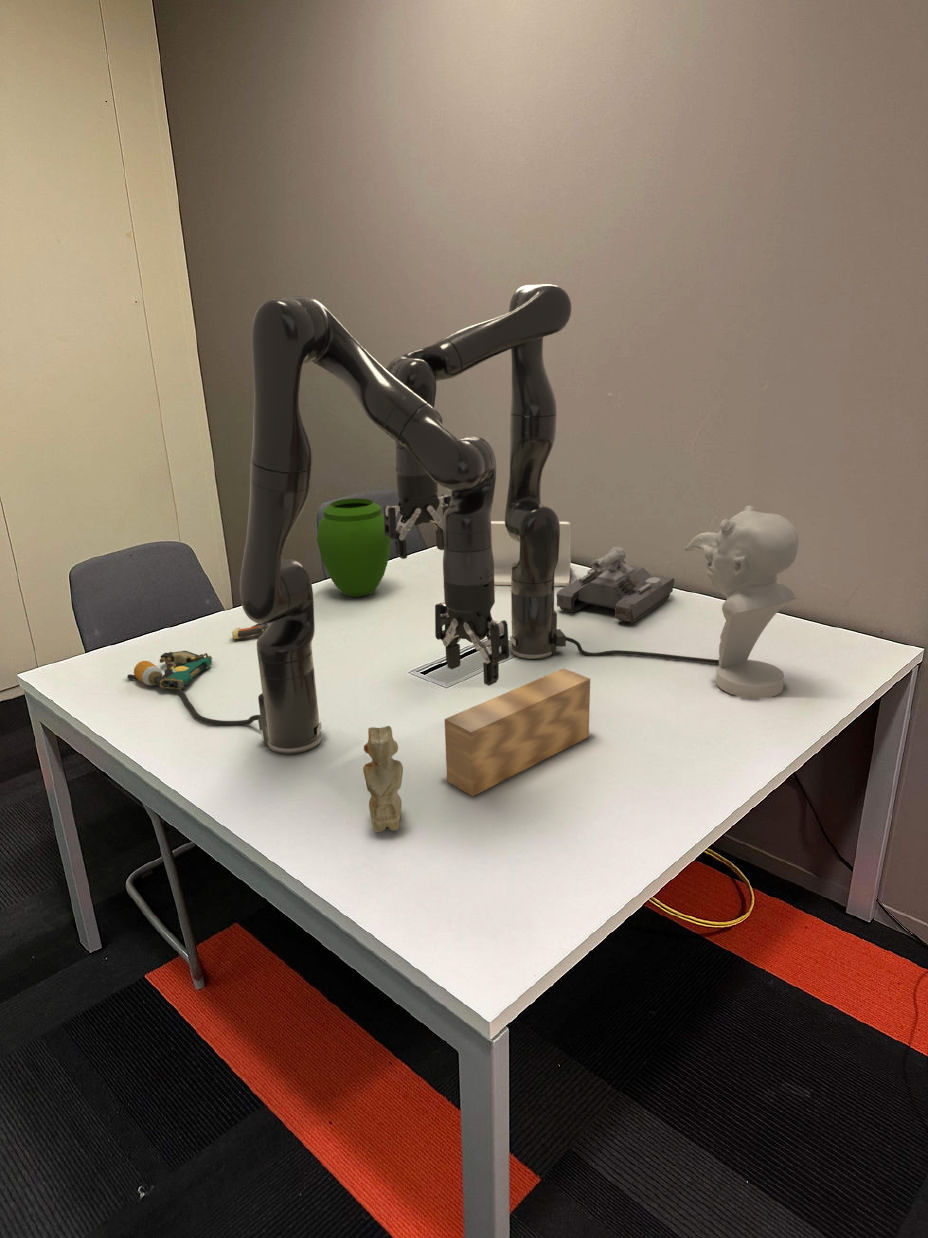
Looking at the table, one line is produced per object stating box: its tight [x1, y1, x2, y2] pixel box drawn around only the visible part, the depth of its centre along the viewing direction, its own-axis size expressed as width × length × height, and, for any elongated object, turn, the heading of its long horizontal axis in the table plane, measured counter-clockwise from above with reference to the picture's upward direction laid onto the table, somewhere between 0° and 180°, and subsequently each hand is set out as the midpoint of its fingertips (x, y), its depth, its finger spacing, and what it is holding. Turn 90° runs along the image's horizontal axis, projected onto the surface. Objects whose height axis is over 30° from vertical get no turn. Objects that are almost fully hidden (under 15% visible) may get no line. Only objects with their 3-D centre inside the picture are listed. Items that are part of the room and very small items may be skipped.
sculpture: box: [362, 725, 404, 833], centre depth 125 cm, size 6×7×15 cm
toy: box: [556, 546, 676, 624], centre depth 212 cm, size 25×20×15 cm
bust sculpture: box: [684, 505, 799, 699], centre depth 167 cm, size 16×24×35 cm
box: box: [444, 668, 591, 797], centre depth 143 cm, size 28×6×11 cm, turn 131°
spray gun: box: [133, 650, 213, 690], centre depth 180 cm, size 4×17×15 cm
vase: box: [316, 497, 392, 598], centre depth 225 cm, size 20×20×24 cm
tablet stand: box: [491, 520, 572, 587], centre depth 236 cm, size 18×25×17 cm
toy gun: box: [231, 622, 271, 640], centre depth 206 cm, size 3×19×10 cm
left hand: (472, 675), depth 132 cm, fingers open, 8 cm apart
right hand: (422, 553), depth 164 cm, fingers open, 8 cm apart
